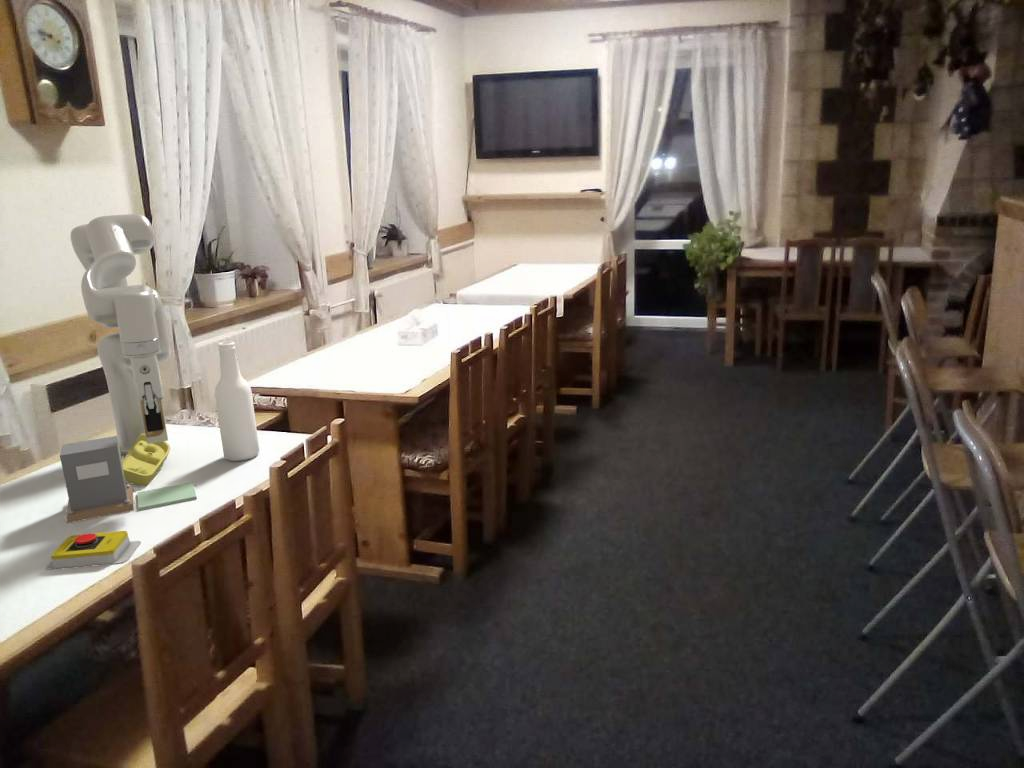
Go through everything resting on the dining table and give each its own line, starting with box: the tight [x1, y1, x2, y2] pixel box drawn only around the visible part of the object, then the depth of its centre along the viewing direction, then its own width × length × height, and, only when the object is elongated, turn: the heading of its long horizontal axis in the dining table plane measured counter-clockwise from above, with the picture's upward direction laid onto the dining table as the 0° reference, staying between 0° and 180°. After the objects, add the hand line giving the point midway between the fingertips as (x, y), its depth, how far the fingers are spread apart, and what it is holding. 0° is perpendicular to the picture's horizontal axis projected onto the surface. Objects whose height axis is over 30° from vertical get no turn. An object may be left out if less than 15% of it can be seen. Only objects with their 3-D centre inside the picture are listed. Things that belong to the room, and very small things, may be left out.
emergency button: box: [44, 530, 142, 571], centre depth 154 cm, size 9×4×15 cm
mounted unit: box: [59, 435, 135, 524], centre depth 176 cm, size 12×13×14 cm
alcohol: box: [214, 340, 260, 462], centre depth 202 cm, size 9×9×30 cm
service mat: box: [137, 481, 197, 511], centre depth 181 cm, size 10×12×1 cm
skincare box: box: [139, 383, 169, 444], centre depth 176 cm, size 6×4×12 cm
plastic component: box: [122, 434, 171, 487], centre depth 197 cm, size 20×7×10 cm
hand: (154, 425), depth 177 cm, fingers closed on skincare box, 6 cm apart
